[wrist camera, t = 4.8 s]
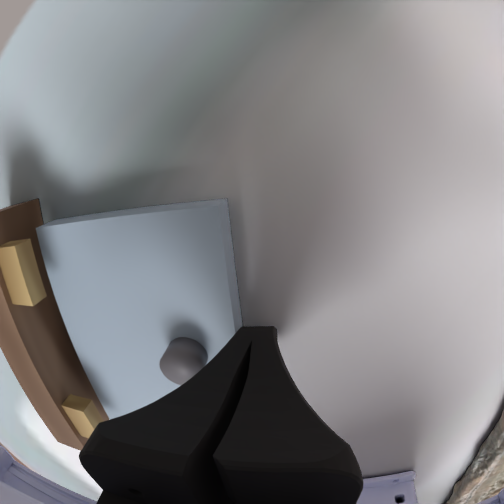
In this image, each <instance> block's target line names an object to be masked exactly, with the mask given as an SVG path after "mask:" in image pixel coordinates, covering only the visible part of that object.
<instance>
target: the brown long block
mask: <svg viewBox="0 0 504 504" xmlns="http://www.w3.org/2000/svg"><path fill="white" fill-rule="evenodd" d="M42 225H43V220H42V215H41V210H40V205H39V199H35V200H31V201H27V202H23V203H19V204H16V205H12V206H9V207H6V208H3V209H0V347H1V349H2V351H3V353H4V355H5V357H6V359H7V361H8V363H9V365H10V367H11V369H12V371H13V373H14V374H15V376H16V378H17V380H18V382H19V383H20V385H21V387H22V389H23V390H24V392H25V394H26V395H27V397H28V399H29V400H30V402H31V403H32V405H33V407H34V408H35V410H36V411H37V413H38V414H39V416H40V417H41V419H42V420H43V422H44V423H45V425H46V426H47V427H48V429H49V430H50V432H51V433H52V434H53V436H54V437H55V438H56V440H57V441H58V442H60V443H62V444H65V445H67V446H70V447H73V448H75V449H78V450H82V449H83V447H84V445H85V444H86V442H87V440H88V439H89V437H90V436H91V434H92V432H93V431H94V429H95V428H96V426H97V425H98V424H99V423H100V422H104V421H107V420H109V417H108V415H107V413H106V412H105V410H104V408H103V406H102V404H101V402H100V401H99V399H98V397H97V395H96V393H95V391H94V389H93V387H92V385H91V383H90V381H89V379H88V377H87V375H86V373H85V371H84V368H83V366H82V364H81V362H80V360H79V357H78V355H77V353H76V351H75V348H74V346H73V344H72V341H71V339H70V336H69V334H68V331H67V329H66V326H65V324H64V321H63V318H62V316H61V313H60V310H59V307H58V304H57V302H56V299H55V296H54V293H53V290H52V287H51V283H50V280H49V277H48V274H47V270H46V267H45V263H44V260H43V256H42V252H41V248H40V244H39V240H38V236H37V232H36V228H37V227H39V226H42Z"/></svg>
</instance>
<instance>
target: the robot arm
mask: <svg viewBox="0 0 504 504" xmlns="http://www.w3.org/2000/svg"><path fill="white" fill-rule="evenodd" d="M79 459H80V462H81V464H82V466H83V467H84V469H85V470H86V471H87V472H88V474H89V475H90V476H91V477H92V478H93V479H94V480H95V481H96V483H97V484H98V485H99V486H100V487H101V488H102V489H103V492H102V494H101V496H100V498H99V500H98V502H97V501H94V500H92V499H89V498H87V497H84V496H82V495H80V494H78V493H75V492H73V491H71V490H69V489H67V488H64V487H62V486H60V485H58V484H56V483H54V482H52V481H50V480H48V479H46V478H45V477H43V476H41V475H39V474H37V473H35V472H34V471H32V470H30V469H28V468H27V467H25V466H23V465H21V464H20V463H18V462H17V461H15V460H14V459H13V457H12V456H11V455H10V454H9V452H8V451H7V450H6V449H5V448H4V447H3V446H1V445H0V504H418V501H417V496H416V491H415V487H414V482H413V480H414V478H415V477H416V473H415V471H408V472H403V473H398V474H393V475H387V476H381V477H374V478H367V479H363V477H362V474H361V470H360V467H359V464H358V462H357V460H356V457H355V455H354V453H353V451H352V449H351V447H350V445H349V444H348V443H346V442H345V441H344V440H343V439H341V438H340V437H339V436H338V435H337V434H336V433H335V432H334V431H332V430H331V429H330V428H329V427H328V426H327V425H326V424H325V423H324V421H323V420H322V419H321V418H320V417H319V416H318V415H317V414H316V412H315V411H314V410H313V409H312V408H311V406H310V405H309V404H308V403H307V401H306V400H305V398H304V397H303V396H302V394H301V393H300V391H299V390H298V388H297V386H296V385H295V383H294V381H293V379H292V378H291V376H290V374H289V372H288V370H287V368H286V365H285V363H284V361H283V358H282V355H281V353H280V350H279V346H278V342H277V329H276V328H275V327H274V326H259V327H241V328H240V329H239V330H238V331H237V332H236V333H235V334H234V336H233V337H232V338H231V339H230V340H229V341H228V343H227V344H226V345H225V346H224V347H223V348H222V349H221V350H220V351H219V352H218V353H217V355H216V356H215V357H214V358H213V359H212V360H211V361H210V362H209V363H208V364H206V365H205V366H204V367H203V368H202V369H201V370H200V371H199V372H198V373H197V374H195V375H194V376H193V377H192V378H191V379H189V380H188V381H187V382H185V383H184V384H182V385H181V386H180V387H178V388H177V389H175V390H173V391H172V392H170V393H168V394H167V395H165V396H163V397H162V398H160V399H158V400H156V401H155V402H153V403H151V404H149V405H146V406H144V407H142V408H140V409H138V410H135V411H133V412H130V413H128V414H125V415H122V416H119V417H116V418H113V419H110V420H107V421H104V422H100V423H99V424H98V425H97V426H96V428H95V429H94V431H93V432H92V434H91V436H90V437H89V439H88V440H87V442H86V444H85V445H84V447H83V449H82V450H81V452H80V454H79ZM477 504H504V488H503V489H502V490H501V491H500V492H499V494H498V495H495V496H493V497H491V498H489V499H486V500H484V501H481V502H479V503H477Z"/></svg>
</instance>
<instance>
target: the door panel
mask: <svg viewBox="0 0 504 504" xmlns="http://www.w3.org/2000/svg"><path fill="white" fill-rule="evenodd" d="M36 232H37V236H38V240H39V244H40V248H41V252H42V256H43V260H44V263H45V267H46V270H47V274H48V277H49V280H50V283H51V287H52V290H53V293H54V296H55V299H56V302H57V304H58V307H59V310H60V313H61V316H62V318H63V321H64V324H65V326H66V329H67V331H68V334H69V336H70V339H71V341H72V344H73V346H74V348H75V351H76V353H77V355H78V357H79V360H80V362H81V364H82V366H83V368H84V371H85V373H86V375H87V377H88V379H89V381H90V383H91V385H92V387H93V389H94V391H95V393H96V395H97V397H98V399H99V401H100V402H101V404H102V406H103V408H104V410H105V412H106V413H107V415H108V417H109V419H113V418H116V417H119V416H122V415H125V414H128V413H130V412H133V411H135V410H138V409H140V408H142V407H144V406H146V405H149V404H151V403H153V402H155V401H156V400H158V399H160V398H162V397H163V396H165V395H167V394H168V393H170V392H172V391H173V390H175V389H177V388H178V387H180V386H181V385H182V384H184V383H185V382H187V381H188V380H189V379H191V378H192V377H193V376H194V375H195V374H197V373H198V372H199V371H200V370H201V369H202V368H203V367H204V366H205V365H206V364H208V363H209V362H210V361H211V360H212V359H213V358H214V357H215V356H216V355H217V353H218V352H219V351H220V350H221V349H222V348H223V347H224V346H225V345H226V344H227V343H228V341H229V340H230V339H231V338H232V337H233V336H234V334H235V333H236V332H237V331H238V330H239V329H240V328H241V327H243V324H242V316H241V308H240V300H239V292H238V284H237V276H236V268H235V260H234V252H233V243H232V235H231V226H230V218H229V209H228V200H227V198H226V199H215V200H204V201H194V202H184V203H174V204H165V205H156V206H148V207H140V208H132V209H124V210H116V211H109V212H102V213H95V214H88V215H82V216H75V217H69V218H63V219H56V220H53V221H51V222H49V223H46V224H44V225H42V226H39V227H37V228H36Z"/></svg>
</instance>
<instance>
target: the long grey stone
mask: <svg viewBox="0 0 504 504" xmlns="http://www.w3.org/2000/svg"><path fill="white" fill-rule="evenodd" d="M503 488H504V409H503V412H502V416H501V418H500V419H499V421H498V422H497V424H496V426H495V428H494V430H492V432H491V433H490V435H489V436H488V438H487V439H486V440H485V441H484V442H483V444H482V445H481V447H480V449H479V453H478V454H477V456H476V458H475V459H474V461H473V463H472V465H470V466H469V467H468V469H467V471H466V473H465V474H464V475H463V477H462V478H461V479H460V481H458V482H457V483H456V484H455V485H454V490H453V491H454V492H453V494H452V495H451V497H450V499H449V500H448V501H447V503H446V504H477V503H479V502H481V501H484V500H486V499H489V498H491V497H493V496H495V495H498V494H499V492H500V491H501V490H502V489H503Z"/></svg>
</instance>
